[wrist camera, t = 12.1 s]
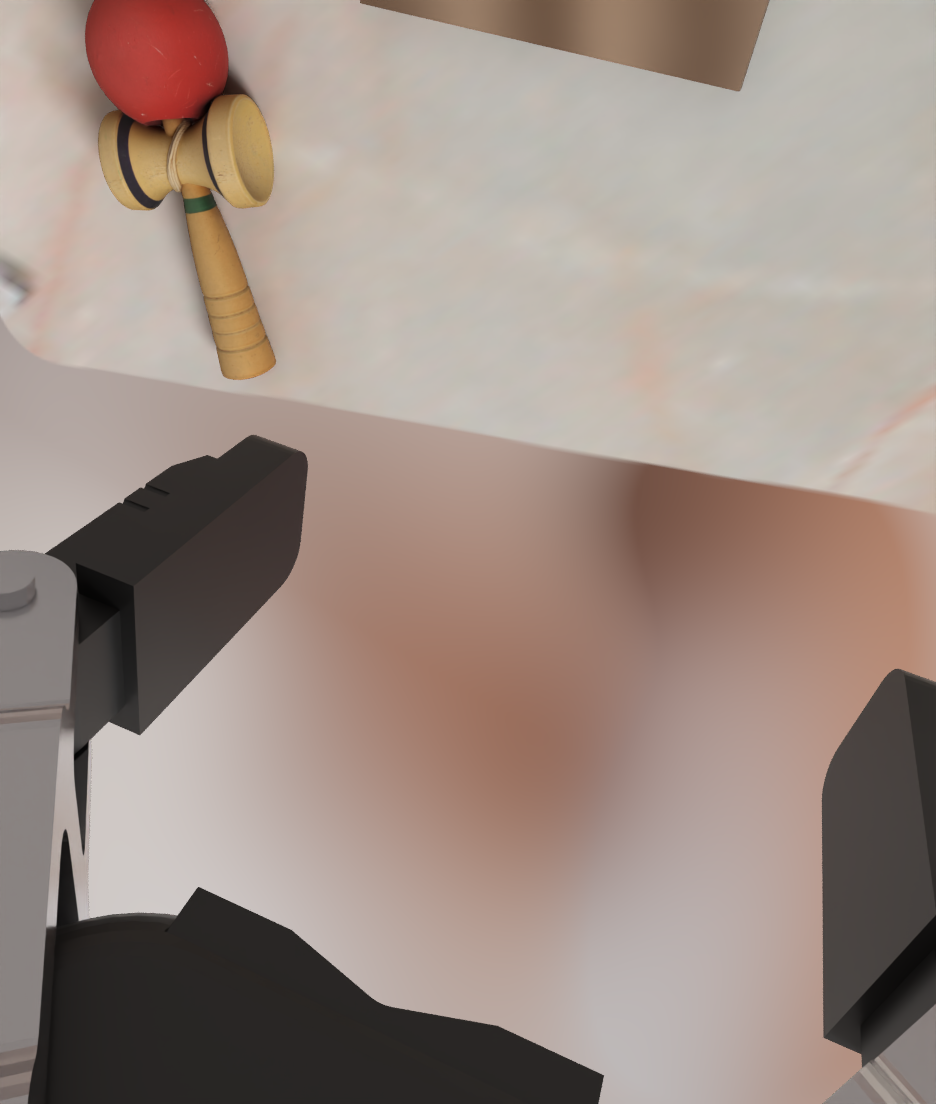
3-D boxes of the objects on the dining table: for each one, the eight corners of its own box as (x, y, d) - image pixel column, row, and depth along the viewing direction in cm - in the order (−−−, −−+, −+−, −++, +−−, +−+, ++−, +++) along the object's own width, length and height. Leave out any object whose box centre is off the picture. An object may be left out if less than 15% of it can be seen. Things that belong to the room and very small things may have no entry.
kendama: (346, 346, 47) (250, -48, 36) (276, 400, 43) (144, -26, 32) (240, 336, 51) (123, -26, 40) (166, 385, 47) (13, -4, 36)
